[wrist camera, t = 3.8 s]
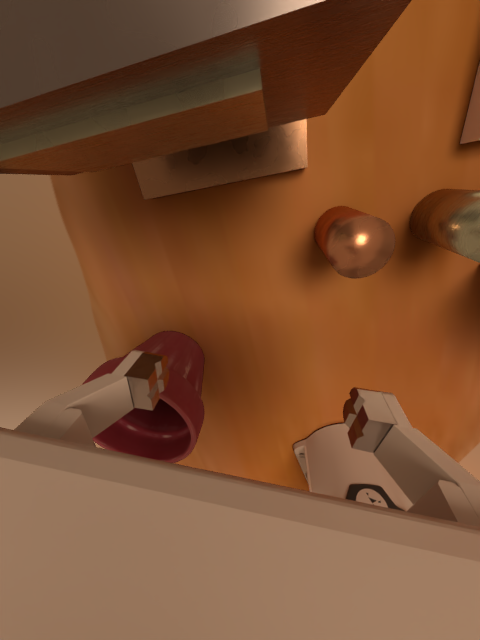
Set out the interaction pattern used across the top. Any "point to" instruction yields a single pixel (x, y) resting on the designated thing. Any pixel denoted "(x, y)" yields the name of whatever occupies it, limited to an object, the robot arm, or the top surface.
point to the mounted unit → (175, 84)
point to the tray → (473, 114)
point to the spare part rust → (354, 241)
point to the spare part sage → (450, 221)
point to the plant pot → (162, 404)
